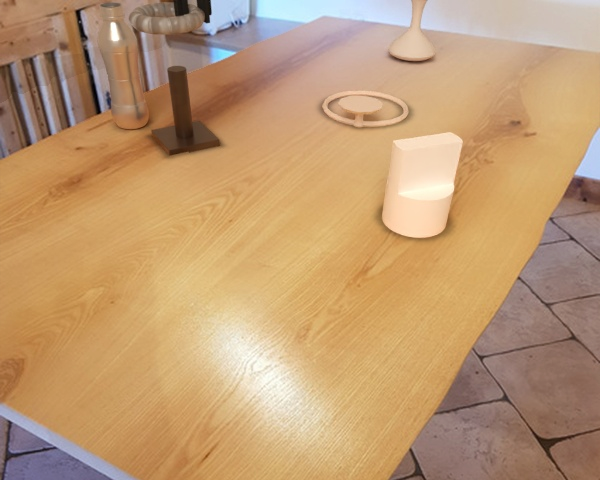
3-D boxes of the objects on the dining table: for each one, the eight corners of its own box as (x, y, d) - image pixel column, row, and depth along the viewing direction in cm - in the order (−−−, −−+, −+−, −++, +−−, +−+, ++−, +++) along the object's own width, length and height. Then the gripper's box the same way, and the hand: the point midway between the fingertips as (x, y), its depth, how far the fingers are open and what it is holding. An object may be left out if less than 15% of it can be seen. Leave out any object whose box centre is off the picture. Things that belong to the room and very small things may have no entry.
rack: (170, 158, 91) (158, 81, 82) (152, 138, 96) (140, 64, 88) (220, 147, 94) (214, 72, 86) (200, 128, 100) (192, 56, 92)
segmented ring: (143, 40, 76) (141, 23, 75) (122, 21, 83) (119, 5, 82) (216, 30, 80) (214, 14, 79) (189, 13, 87) (188, -2, 86)
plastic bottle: (139, 116, 104) (118, -2, 91) (158, 127, 100) (139, 6, 87) (107, 125, 100) (81, 3, 87) (126, 137, 97) (101, 12, 84)
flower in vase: (377, 56, 134) (390, -65, 118) (407, 47, 140) (423, -70, 124) (420, 70, 127) (440, -57, 111) (449, 60, 133) (472, -62, 117)
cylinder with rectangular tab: (425, 200, 82) (440, 123, 74) (458, 232, 75) (478, 151, 68) (370, 210, 79) (380, 131, 72) (400, 244, 73) (414, 161, 65)
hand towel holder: (415, 79, 110) (405, 118, 95) (412, 100, 113) (401, 142, 97) (332, 70, 113) (309, 106, 97) (331, 91, 115) (309, 129, 100)
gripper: (224, -134, 77) (232, 11, 89) (109, -133, 71) (134, 22, 83) (247, -131, 72) (253, 22, 84) (125, -129, 66) (150, 35, 78)
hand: (194, 21), depth 83 cm, fingers closed on segmented ring, 2 cm apart
